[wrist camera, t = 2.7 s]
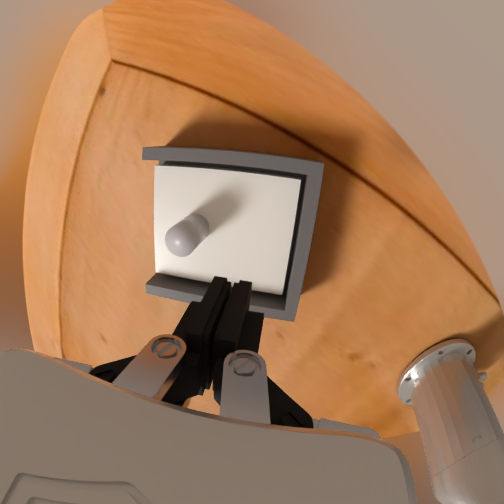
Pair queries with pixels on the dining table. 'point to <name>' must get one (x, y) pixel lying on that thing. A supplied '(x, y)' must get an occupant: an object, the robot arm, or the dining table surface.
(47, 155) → the dining table surface
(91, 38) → the dining table surface
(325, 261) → the dining table surface
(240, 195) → the cover plate
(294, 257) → the dark box
